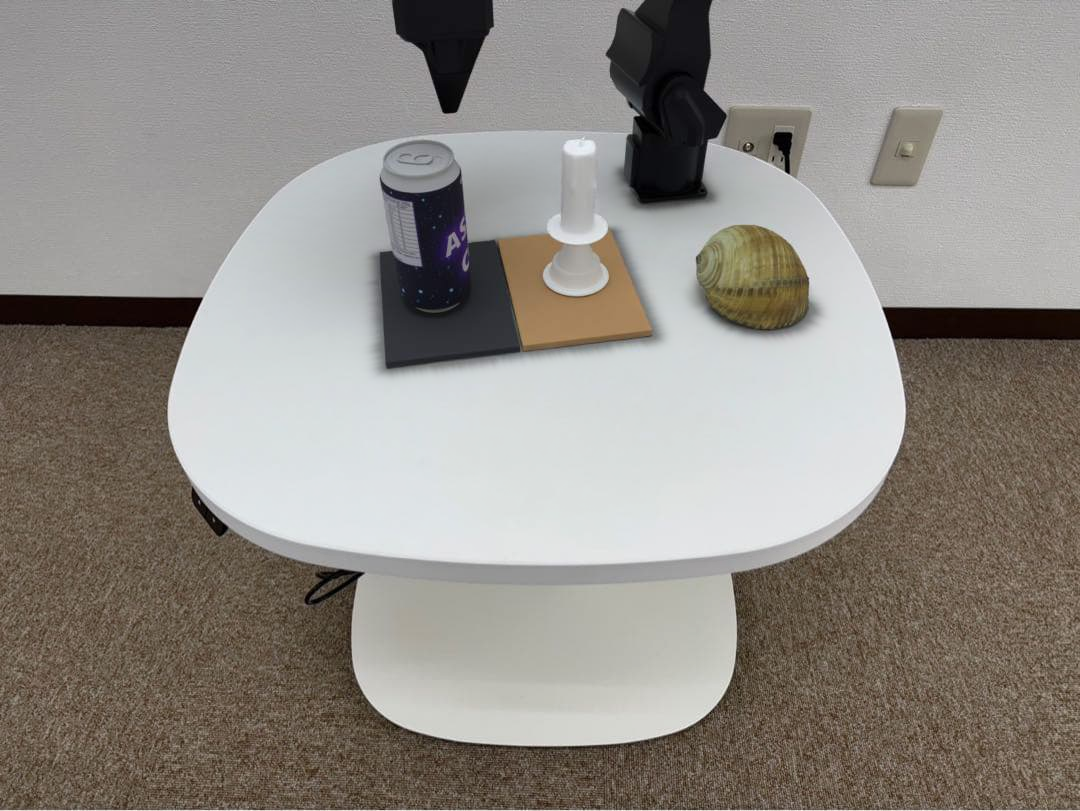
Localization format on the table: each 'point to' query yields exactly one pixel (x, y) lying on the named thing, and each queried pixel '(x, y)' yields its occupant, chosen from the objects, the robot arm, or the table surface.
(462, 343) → the sorting mat
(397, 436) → the table surface
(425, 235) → the beverage can
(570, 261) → the candle
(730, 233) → the seashell
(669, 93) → the robot arm
